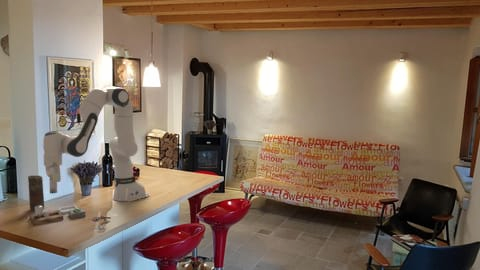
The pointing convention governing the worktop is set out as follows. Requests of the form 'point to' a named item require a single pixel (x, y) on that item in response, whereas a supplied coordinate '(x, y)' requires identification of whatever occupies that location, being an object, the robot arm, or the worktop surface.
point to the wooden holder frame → (47, 217)
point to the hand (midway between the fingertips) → (53, 186)
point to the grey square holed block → (76, 213)
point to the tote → (66, 209)
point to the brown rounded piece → (35, 192)
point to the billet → (52, 190)
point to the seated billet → (38, 212)
